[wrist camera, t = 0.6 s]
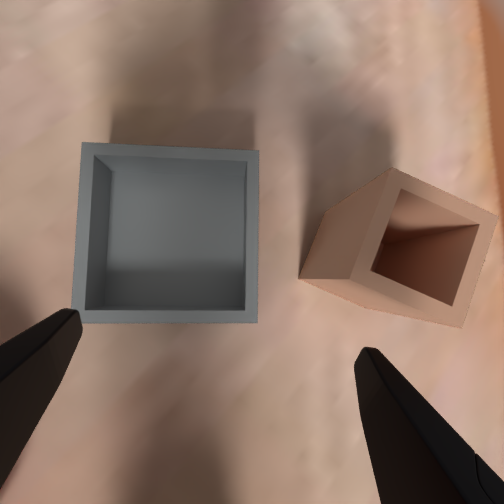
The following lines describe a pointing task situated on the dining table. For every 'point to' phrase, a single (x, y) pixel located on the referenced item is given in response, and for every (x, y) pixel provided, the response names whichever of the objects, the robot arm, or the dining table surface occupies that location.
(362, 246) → the terracotta bin
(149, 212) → the grey square tray
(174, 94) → the dining table surface
